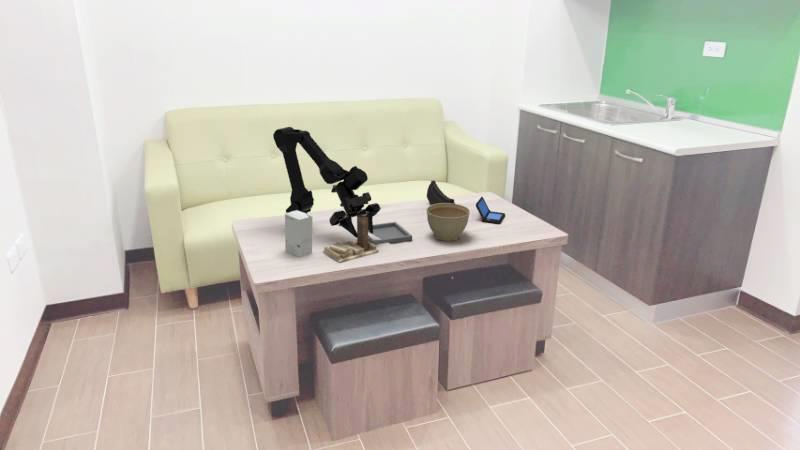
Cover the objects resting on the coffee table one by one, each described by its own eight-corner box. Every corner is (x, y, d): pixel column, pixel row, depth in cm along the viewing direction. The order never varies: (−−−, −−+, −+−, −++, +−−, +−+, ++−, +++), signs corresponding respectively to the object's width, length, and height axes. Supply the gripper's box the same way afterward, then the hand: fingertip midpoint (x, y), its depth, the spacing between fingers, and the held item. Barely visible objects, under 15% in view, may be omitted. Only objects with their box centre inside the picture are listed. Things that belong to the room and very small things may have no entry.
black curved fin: (460, 206, 228) (437, 165, 251) (452, 206, 227) (430, 166, 250) (453, 240, 238) (432, 198, 261) (446, 241, 238) (425, 199, 260)
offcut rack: (339, 265, 196) (339, 257, 195) (323, 254, 204) (322, 246, 203) (378, 254, 205) (378, 246, 204) (361, 244, 213) (361, 236, 212)
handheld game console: (500, 225, 235) (501, 207, 233) (473, 221, 239) (474, 204, 236) (505, 215, 246) (507, 198, 244) (480, 212, 250) (481, 195, 247)
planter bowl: (416, 236, 221) (417, 209, 218) (443, 226, 233) (444, 200, 229) (450, 248, 211) (451, 220, 207) (476, 237, 222) (478, 210, 219)
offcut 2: (343, 259, 199) (343, 255, 198) (331, 253, 203) (330, 249, 203) (352, 256, 201) (352, 252, 201) (339, 250, 206) (339, 246, 205)
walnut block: (363, 253, 206) (363, 219, 201) (357, 249, 209) (357, 215, 204) (368, 252, 207) (368, 217, 202) (361, 248, 210) (361, 214, 205)
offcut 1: (344, 254, 198) (344, 250, 198) (329, 249, 202) (329, 245, 202) (352, 251, 201) (352, 247, 201) (337, 246, 205) (337, 242, 205)
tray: (372, 246, 212) (372, 241, 211) (357, 231, 225) (357, 226, 225) (412, 240, 218) (412, 235, 217) (395, 226, 231) (395, 221, 231)
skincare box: (285, 253, 205) (282, 213, 199) (298, 248, 209) (296, 209, 204) (300, 259, 200) (299, 219, 194) (314, 254, 204) (312, 214, 199)
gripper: (332, 190, 197) (351, 230, 193) (378, 181, 208) (396, 219, 203) (321, 205, 206) (338, 244, 201) (365, 196, 216) (382, 233, 212)
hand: (364, 235), depth 204 cm, fingers open, 6 cm apart
